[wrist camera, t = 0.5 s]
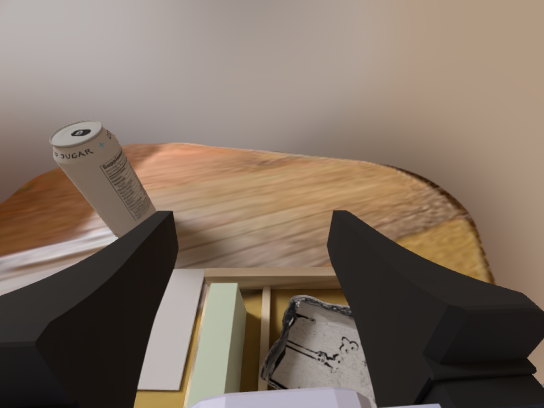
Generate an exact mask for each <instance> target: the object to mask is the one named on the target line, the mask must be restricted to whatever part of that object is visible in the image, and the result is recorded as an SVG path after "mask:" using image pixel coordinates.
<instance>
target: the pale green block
mask: <svg viewBox="0 0 544 408" xmlns="http://www.w3.org/2000/svg"><path fill="white" fill-rule="evenodd" d="M246 314H247V311H246V308H245V305H244V302H243V299H242V296H241V292H240V289H239V286H238V283H211V285H210V290H209V295H208V300H207V306H206V311H205V316H204V321H203V326H202V331H201V336H200V341H199V346H198V351H197V357H196V362H195V367H194V372H193V377H192V382H191V387H190V392H189V397H188V402H187V407H186V408H189V407H190V406H192V405H193V404H195V403H197V402H198V401H200V400H201V399H203V398H206V397H211V396H216V395H221V394H226V393H240V382H241V371H242V359H243V348H244V337H245V326H246Z"/></svg>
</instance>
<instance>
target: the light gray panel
mask: <svg viewBox="0 0 544 408" xmlns="http://www.w3.org/2000/svg"><path fill="white" fill-rule="evenodd" d="M204 273H205V269H174V270H173V272H172V275H171V278H170V280H169V283H168V286H167V288H166V291H165V293H164V296H163V299H162V301H161V304H160V306H159V309H158V312H157V314H156V317H155V320H154V324H153V327H152V331H151V335H150V339H149V342H148V346H147V350H146V354H145V358H144V363H143V367H142V371H141V375H140V380H139V384H138V389H137V390H180V386H181V381H182V377H183V372H184V368H185V363H186V358H187V354H188V349H189V345H190V340H191V335H192V331H193V326H194V322H195V317H196V313H197V308H198V303H199V299H200V294H201V290H202V285H203V281H204Z"/></svg>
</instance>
